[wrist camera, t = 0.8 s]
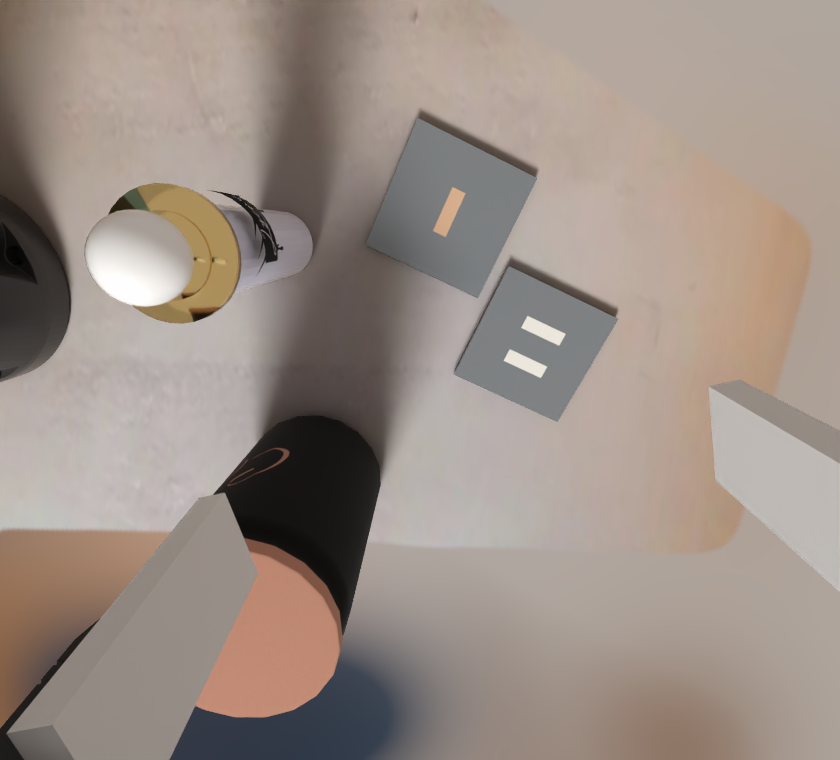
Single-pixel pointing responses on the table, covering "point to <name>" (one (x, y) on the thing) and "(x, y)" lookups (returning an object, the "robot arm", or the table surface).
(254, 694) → the coffee jar
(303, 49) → the table surface
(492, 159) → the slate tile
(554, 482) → the table surface
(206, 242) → the perfume bottle
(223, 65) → the table surface
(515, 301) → the slate code tile
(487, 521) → the table surface
